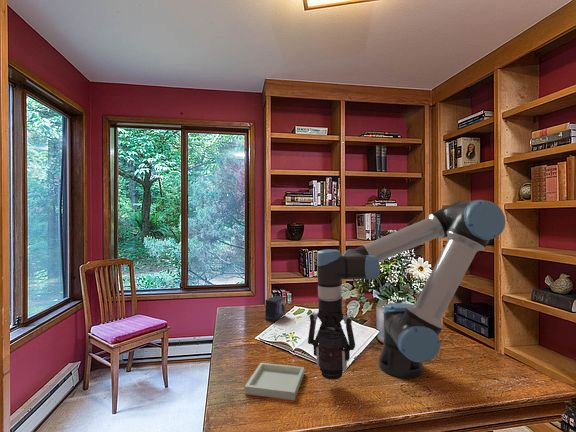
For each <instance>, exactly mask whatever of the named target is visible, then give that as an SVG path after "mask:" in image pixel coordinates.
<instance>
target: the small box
mask: <svg viewBox="0 0 576 432" xmlns="http://www.w3.org/2000/svg"><path fill="white" fill-rule="evenodd" d="M264 303H265V313H264V315H265V316H264V319H265V321H266V320H267V321H271V322H276V320H277V319H278V320H280V319H281V318H280V317H282V316H283V315H285V316H286V296H280V295H274V296H272V297H269V298H267V299H265V301H264ZM279 318H280V319H279ZM282 318H283V317H282ZM278 320H277V321H278Z"/></svg>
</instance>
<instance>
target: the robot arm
mask: <svg viewBox="0 0 576 432" xmlns="http://www.w3.org/2000/svg"><path fill="white" fill-rule="evenodd" d="M505 227H506V216H505V214H504V211H503V209H502V208H501V207H500V206H499V205H498V204H496V203H495V202H493V201H490V200H484V199H475V200H459V201H455V202H453V203H451V204H448V205H445V206H444V207H442V208H439V209H438V210H436V211H434V212H431V213H429V214H428V216H427V218H424V219H422V220H419V221H418V222H415V223H413V224H411V225H408V226H406V227H404V228H401V229H398V230H397V231H394V232H391V233H389V234H387V235H385V236H382V237H380V238H377V239H376V240H373V241H370V242H368V243H365V244H364V245H361V246H358V247H357V248H350V249H347V250H346V251H345V252H344V253H343V255H342V254H341V251H340V250H339V249H335V248H334V249H321V250H319V251H318V252H317V257H316V260H317V262H316V264H317V265H316V267H317V268H316V269H317V297H318V301H317V302H318V303H317V304H318V312H317V313H315V312H311V313H310V314H309V322H310V323H309V330H308V331H309V332H308V338H307V344H308V345H312V346H313V356H314V357H316V368H320V364H319V357H320V356H319V329H322V330H323V329H324V328H325V327H332V328H335V330H336V331H337V332H341V331H342V329H343V325H342V324H341V322H342V321H343V322H344V324H345V330H346V334H347V336H346V334H345V331H343V334H342V333H341V335H342V345H343V351H342V367H343V372H342V373H345V372H347V369H348V362H349V360H350V358H351V357H350V354H351V352H350V351H354V349H355V347H356V342H355V336H354V332H353V331H354V330H353V325H352V322H353V317H352V316H345V315H344V313H343V299H342V294H343V293H342V291H343V290H342V280H373V279H378V278H379V276H380V273H381V266H380V262H382V261H384V260H387V259H389V258H391V257H394V256H396V255H399V254H401V253H404V252H405V251H408V250H409V251H410V249H413V248H416V247H419V246H420V245H423V244H425V243H428V242H431V241H432V240H435V239H436V238H438V239H445V238H448V240H447V242H446V244H445V246H444V247H443V249H442V251H441V254H440V255H439V257H438V259H437V261H436V263H435V265H434V267H433V268H432V271H431V272H430V275H429V277H428V278H427V280H426V282H425V284H424V286H423V288H422V289H421V292H420V294H419V295H418V297H417V299H416V301H415V303H414V304H413V303H404V302H402V303H401V302H392V303H391V302H390V303H387V304H385V305H384V307H383V345H382V349H381V351H380V355H379V356H378V357H379V358H378V366H379V368H380V370H381V371H383V372H385V373H386V374H388V375H390V376H394V377H397V378H403V379H410V378H411V379H414V378H418V377H420V376H422V375H423V373H424V364H423V363H425V362H430V361H432V360H433V359H434V358H435V357H437V355H438V354H439V353H440V350H441V349H440V348H441V342H440V337H439V336H440V334H441V333H442V330H443V328H444V326H443V323H442V318H443V316H444V314H445V313H446V310H447V309H448V307H449V305H450V303H451V301H452V299H453V298H454V295H455V293H456V292H457V290H458V288H459V286H460V284H461V282H462V280H463V279H464V278H465V277H464V276H465V275H466V273H467V270H468V269H469V268H470V266H471V264H472V262H473V260H474V258H475V255H476V254H477V252H480V251H483V250H485V249H486V247H487V246H488V244H489V242H490V240H493V239H495V238H497V237H500V235H501V234H502V233H503V231H504V230H505ZM318 319H319V321H320V326H319V329H318V331H317V333H316V323H317V320H318ZM315 334H316V336H315Z"/></svg>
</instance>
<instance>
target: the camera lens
mask: <svg viewBox="0 0 576 432" xmlns="http://www.w3.org/2000/svg"><path fill="white" fill-rule="evenodd" d="M318 331H319V343H318V345H319V356H320V357H319V364H320V367H319V370H320V372H321V376H322V377H323V378H325V379H326V380H339V379H340V378H342V376H343V373H344V372H343V367H342V351H343V349H344V348H343V345H342V335H341V333H342V334H343V332H344V329H343V328H342V331H341V332H337V331H336V330H335V328H332V327H325V328H324V329H323V330H322V329H318Z"/></svg>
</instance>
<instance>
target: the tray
mask: <svg viewBox="0 0 576 432" xmlns="http://www.w3.org/2000/svg"><path fill="white" fill-rule="evenodd" d="M304 377H305V367H304V366H294V365H286V364H278V363H277V364H276V363H267V362H260V363H259V364H258V366H257V367H256V368H255V370H254V372H253V373H252V375H251V376H250V378H249V379H248V381H247V382H246V384H245V385H244V394H245V395H251V396H258V397H268V398H272V399H273V398H274V399H280V400H289V401H295V400H296V397H297V395H298V393H299V390H300V388H301V384H302V381H303V378H304Z"/></svg>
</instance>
